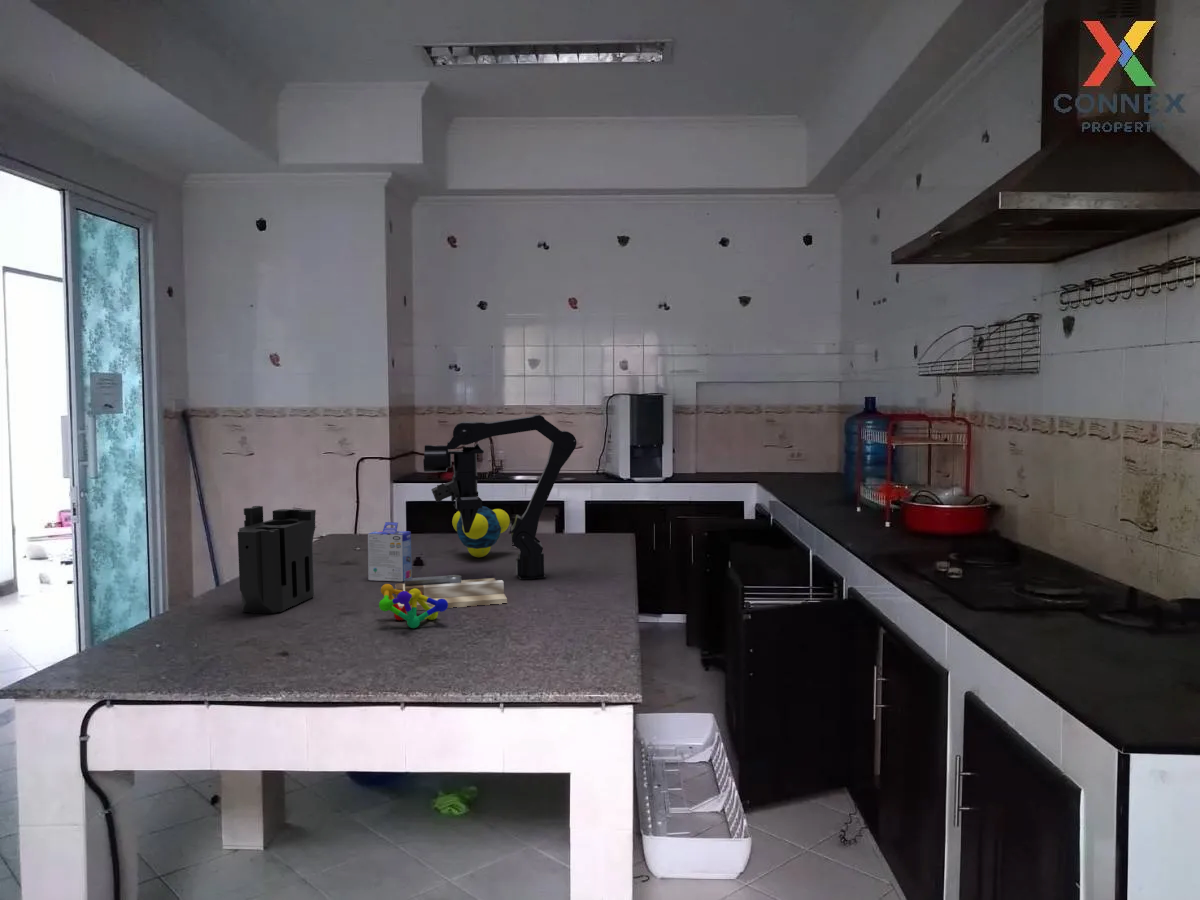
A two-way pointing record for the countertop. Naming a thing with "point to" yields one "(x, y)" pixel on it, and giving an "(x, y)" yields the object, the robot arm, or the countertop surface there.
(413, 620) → the decorative model
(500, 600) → the board
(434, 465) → the robot arm
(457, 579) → the latch bar
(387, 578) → the ink cartridge box
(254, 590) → the black machined bracket
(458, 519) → the toy
